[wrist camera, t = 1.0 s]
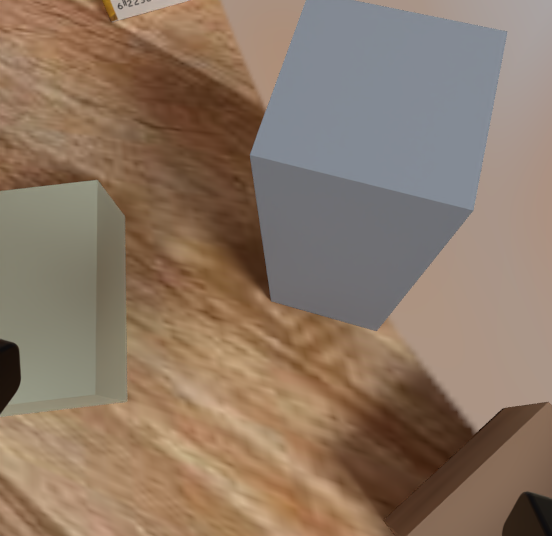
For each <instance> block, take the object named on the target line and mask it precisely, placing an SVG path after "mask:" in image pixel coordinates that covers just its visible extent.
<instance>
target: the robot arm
mask: <svg viewBox="0 0 552 536" xmlns="http://www.w3.org/2000/svg"><path fill="white" fill-rule="evenodd" d="M20 383H21V367H20V351H19V347H18V345H17V344H15V343H14V342H10V341H7V340H3V339H0V414H1V413H2V411H3V410H4V409H5V407H6V406H7V405H8V403H9V402H10V401H11V399H12V398H13V396H14V395H15V394H16V392H17V390H18V388H19V386H20ZM502 536H552V499H551V498H549V497H547V496H543V495H540V494H536V493H533V492H529V491H526V492H523V493H522V494H521V495H520V496H519V498H518V500H517V501H516V503H515V505H514V507H513V508H512V510H511V512H510V514H509V516H508V517H507V519H506V521H505V523H504V526H503V530H502Z"/></svg>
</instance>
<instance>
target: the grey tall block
mask: <svg viewBox="0 0 552 536" xmlns="http://www.w3.org/2000/svg"><path fill="white" fill-rule="evenodd" d="M506 36H507V31H502V30H497V29H492V28H487V27H483V26H478V25H472V24H468V23H463V22H458V21H453V20H447V19H443V18H438V17H433V16H428V15H423V14H419V13H413V12H408V11H404V10H399V9H394V8H389V7H384V6H379V5H374V4H369V3H364V2H359V1H354V0H306V2H305V5H304V8H303V10H302V13H301V16H300V18H299V21H298V24H297V27H296V30H295V32H294V35H293V38H292V40H291V43H290V46H289V49H288V51H287V54H286V57H285V60H284V63H283V66H282V68H281V71H280V73H279V77H278V79H277V82H276V84H275V87H274V90H273V93H272V96H271V98H270V101H269V104H268V106H267V109H266V112H265V115H264V117H263V120H262V123H261V126H260V128H259V131H258V134H257V137H256V139H255V142H254V145H253V148H252V150H251V153H250V160H251V166H252V173H253V180H254V187H255V194H256V201H257V208H258V215H259V221H260V228H261V235H262V242H263V249H264V256H265V263H266V269H267V276H268V283H269V290H270V297H271V301H272V302H276V303H279V304H283V305H286V306H290V307H293V308H297V309H300V310H304V311H307V312H311V313H315V314H318V315H322V316H325V317H329V318H332V319H336V320H339V321H343V322H346V323H350V324H353V325H357V326H360V327H364V328H367V329H371V330H374V331H377V330H378V329H379V328H380V326H381V325H382V324H383V323H384V321H385V320H386V319H387V318H388V316H389V315H390V314H391V313H392V311H393V310H394V309H395V308H396V306H397V305H398V304H399V302H400V301H401V300H402V299H403V298H404V296H405V295H406V294H407V293H408V291H409V290H410V289H411V288H412V286H413V285H414V284H415V283H416V281H417V280H418V279H419V278H420V276H421V275H422V274H423V273H424V271H425V270H426V269H427V268H428V266H429V265H430V264H431V263H432V261H433V260H434V259H435V258H436V256H437V255H438V254H439V253H440V251H441V250H442V249H443V248H444V246H445V245H446V244H447V243H448V241H449V240H450V239H451V238H452V236H453V235H454V234H455V233H456V231H457V230H458V229H459V228H460V226H461V225H462V224H463V223H464V221H465V220H466V219H467V217H468V216H469V215H470V214H471V213H472V211H473V210H474V204H475V199H476V193H477V189H478V183H479V178H480V172H481V167H482V162H483V157H484V152H485V147H486V141H487V136H488V131H489V126H490V120H491V115H492V110H493V105H494V99H495V94H496V89H497V84H498V78H499V73H500V68H501V63H502V57H503V52H504V46H505V42H506Z"/></svg>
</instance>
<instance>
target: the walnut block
mask: <svg viewBox="0 0 552 536" xmlns="http://www.w3.org/2000/svg"><path fill="white" fill-rule="evenodd" d="M526 491H529V492H533V493H536V494H540V495H543V496H547V497H549V498H551V499H552V405H551V404H550V403H549V402H544V403H537V404H530V405H523V406H515V407H508V408H503V409H501V410H500V411H499V412H498V413H497V414H496V415H495V416H494V417H493V418H492V419H490V420H489V421H488V423H486V424H485V425H484V426H483V427H482V428H481V429H480V430H479V431H478V432H477V434H476V435H475V436H474V437H473V438H472V439H471V440H470V441H469V442H468V443H466V444H465V445H464V446H463V447H462V448H461V449H460V450H459V451H458V452H457V453H456V454H455V455H454V456H452V457H451V458H450V459H449V460H448V461H447V462H446V463H445V464H444V465H443V466H442V467H441V468H439V469H438V470H437V471H436V472H435V473H434V474H433V475H432V476H431V477H430V478H429V479H428V480H426V481H425V482H424V483H423V484H422V485H421V486H420V487H419V488H418V489H417V490H416V491H415V492H414V493H412V494H411V495H410V496H409V497H408V498H407V499H406V500H405V501H404V502H403V503H402V504H401V505H399V506H398V507H397V508H396V509H395V510H394V511H393V512H392V513H391V514H390V515H389V516H388V517H386V518H385V519H384V520H383V521H384V522H385V523H386V525H387V526H388V527H389V528H390V530H391V531H392V532H393V534H394V535H395V536H502V530H503V526H504V523H505V521H506V519H507V517H508V516H509V514H510V512H511V510H512V508H513V507H514V505H515V503H516V501H517V500H518V498H519V496H520V495H521V494H522V493H523V492H526Z"/></svg>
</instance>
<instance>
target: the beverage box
mask: <svg viewBox="0 0 552 536" xmlns="http://www.w3.org/2000/svg"><path fill="white" fill-rule="evenodd" d="M102 1H103V4H104V6H105V8H106V11H107V13H108V15H109V17H110V20H111V22H115V21H118V20H122V19H125V18H129V17H133V16H136V15H140V14H143V13H147V12H150V11H154V10H158V9H161V8H165V7H168V6H172V5H175V4H179V3H183V2H186V1H190V0H102Z"/></svg>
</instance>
